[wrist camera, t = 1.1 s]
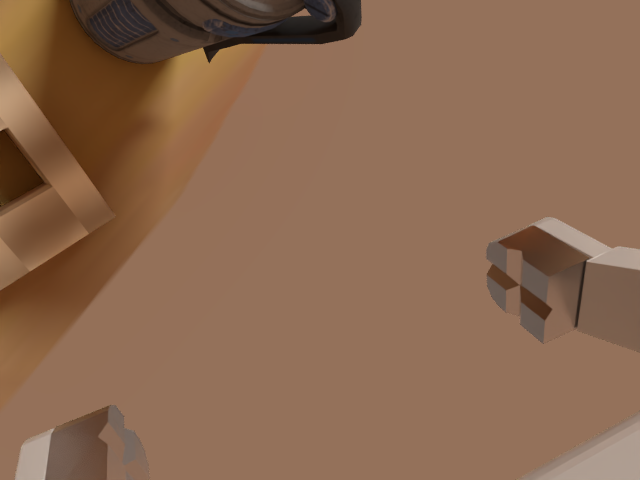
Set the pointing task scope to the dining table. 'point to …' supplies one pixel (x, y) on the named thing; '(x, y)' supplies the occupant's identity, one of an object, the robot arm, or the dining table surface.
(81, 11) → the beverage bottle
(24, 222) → the board
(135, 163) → the dining table surface
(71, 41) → the dining table surface
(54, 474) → the robot arm
